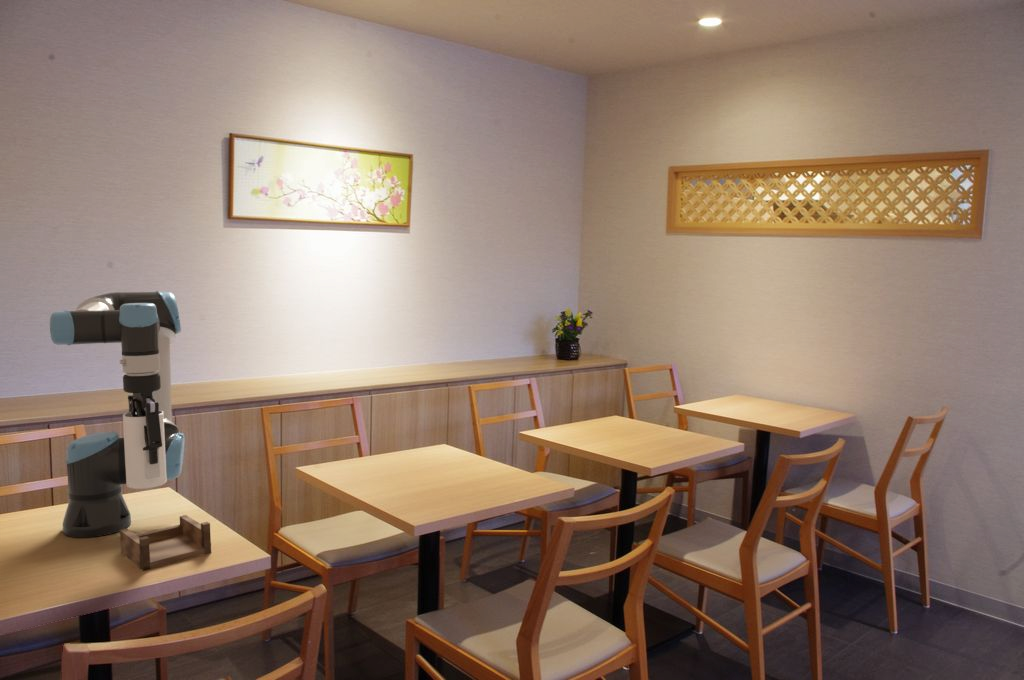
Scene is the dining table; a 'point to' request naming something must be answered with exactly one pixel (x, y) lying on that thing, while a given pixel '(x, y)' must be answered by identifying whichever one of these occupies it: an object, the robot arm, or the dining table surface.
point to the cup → (141, 453)
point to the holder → (166, 544)
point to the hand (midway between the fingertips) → (146, 473)
